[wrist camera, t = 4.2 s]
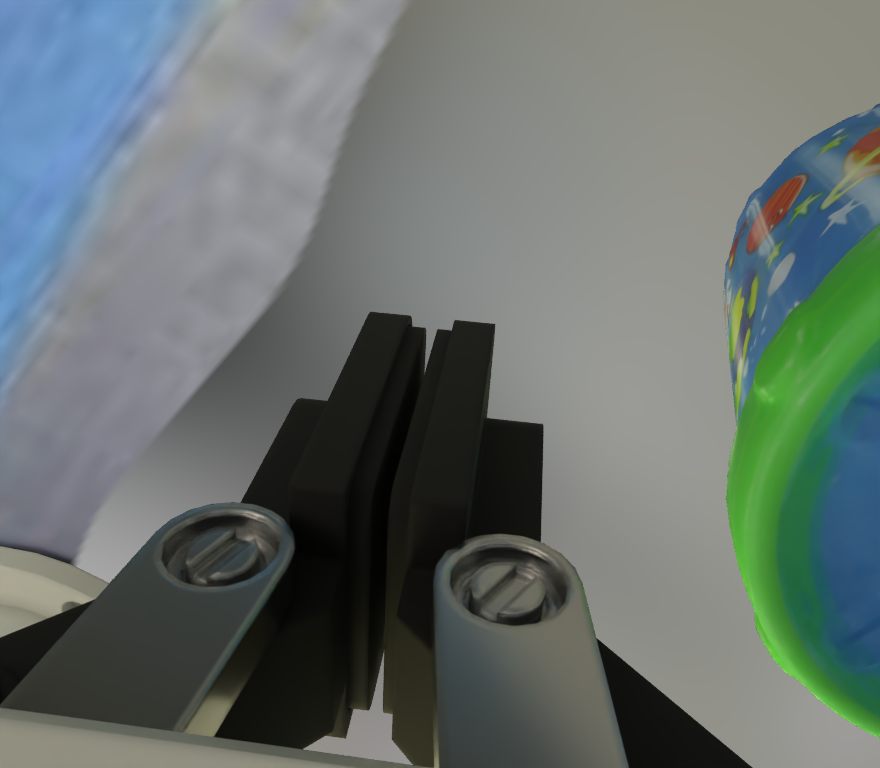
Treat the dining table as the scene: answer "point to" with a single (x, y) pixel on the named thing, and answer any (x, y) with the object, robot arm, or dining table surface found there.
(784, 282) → the snack cup
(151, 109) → the dining table surface
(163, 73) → the dining table surface
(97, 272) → the dining table surface
